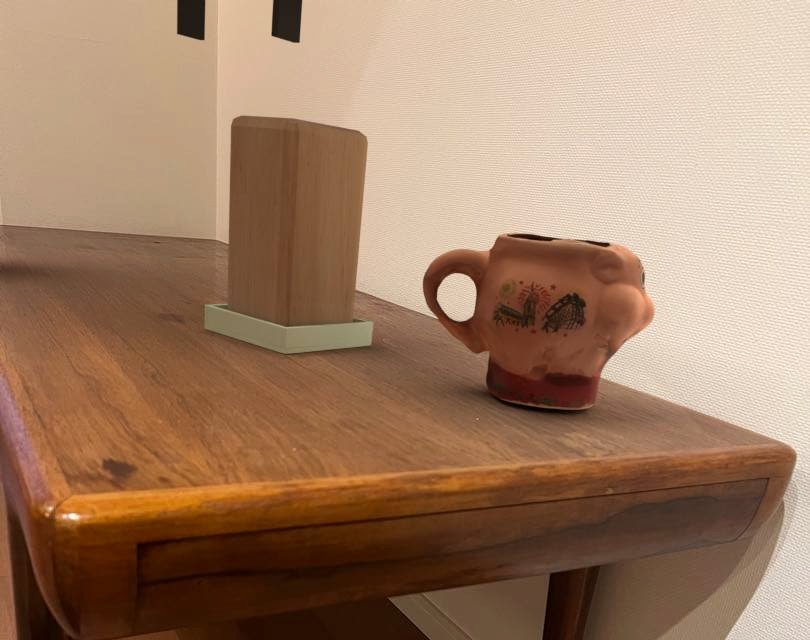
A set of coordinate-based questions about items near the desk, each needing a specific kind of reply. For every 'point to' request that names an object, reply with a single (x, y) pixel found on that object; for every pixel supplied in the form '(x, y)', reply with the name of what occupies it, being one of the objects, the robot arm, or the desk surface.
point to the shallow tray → (287, 332)
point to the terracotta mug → (546, 313)
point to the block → (294, 220)
